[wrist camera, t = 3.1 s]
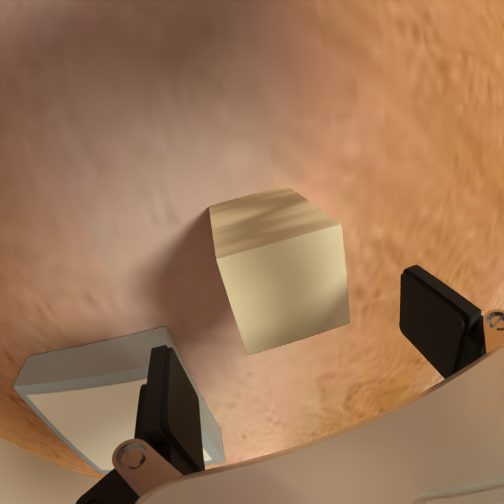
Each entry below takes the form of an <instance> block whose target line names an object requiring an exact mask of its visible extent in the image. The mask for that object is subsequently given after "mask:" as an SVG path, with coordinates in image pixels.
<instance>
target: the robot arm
mask: <svg viewBox="0 0 504 504" xmlns="http://www.w3.org/2000/svg"><path fill="white" fill-rule="evenodd" d="M399 326H400V330H401V332H402V333H403V334H404V336H405V337H406V338H407V339H408V340H409V341H410V342H411V343H412V344H413V345H414V346H415V347H416V348H417V349H418V350H419V351H420V352H421V354H422V355H423V356H424V357H425V358H426V359H427V360H428V361H429V362H430V363H431V364H432V365H433V366H434V368H435V369H436V370H437V371H438V372H439V373H440V374H441V375H442V376H443V377H444V379H445V380H443V381H441V382H440V383H438V384H436V385H434V386H433V387H431V388H429V389H427V390H426V391H424V392H422V393H420V394H418V395H416V396H414V397H412V398H411V399H409V400H407V401H405V402H403V403H401V404H399V405H397V406H395V407H393V408H391V409H389V410H386V411H384V412H382V413H380V414H378V415H376V416H373V417H371V418H369V419H367V420H364V421H362V422H360V423H357V424H355V425H353V426H350V427H348V428H345V429H343V430H340V431H338V432H335V433H332V434H330V435H327V436H324V437H322V438H319V439H316V440H313V441H310V442H307V443H304V444H301V445H298V446H295V447H292V448H289V449H286V450H282V451H279V452H275V453H272V454H268V455H265V456H261V457H257V458H254V459H250V460H246V461H242V462H238V463H234V464H229V465H225V466H220V467H216V468H212V469H208V470H205V465H204V455H203V445H202V433H201V421H200V408H199V399H198V395H197V393H196V391H195V389H194V387H193V386H192V384H191V382H190V380H189V378H188V376H187V374H186V372H185V370H184V368H183V367H182V365H181V363H180V361H179V359H178V357H177V355H176V353H175V351H174V349H173V347H170V348H168V346H167V345H162V346H158V347H154V348H152V349H151V354H150V361H149V368H148V376H147V384H142V385H141V387H140V393H139V400H138V408H137V416H136V425H135V434H134V439H129V440H126V441H124V442H122V443H121V444H120V445H119V446H118V447H117V448H116V449H115V451H114V452H113V456H112V464H113V466H114V469H113V470H111V471H110V472H109V473H108V474H107V475H106V476H105V477H103V478H102V479H101V480H100V481H99V482H98V483H97V484H96V485H94V486H93V487H92V488H91V489H90V490H88V491H87V492H86V493H85V494H84V495H82V496H81V497H80V498H79V499H78V500H77V502H76V504H504V311H503V310H498V309H496V310H491V311H488V312H487V313H486V314H485V315H484V317H483V316H482V315H481V310H480V309H479V308H478V307H476V306H475V305H474V304H472V303H471V302H469V301H468V300H467V299H465V298H464V297H463V296H461V295H460V294H458V293H457V292H456V291H454V290H453V289H451V288H450V287H449V286H447V285H446V284H444V283H443V282H441V281H440V280H439V279H437V278H436V277H434V276H433V275H431V274H430V273H428V272H427V271H425V270H424V269H423V268H421V267H420V266H418V265H414V266H411V267H409V268H406V269H405V270H404V271H403V274H401V293H400V323H399Z"/></svg>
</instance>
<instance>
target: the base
mask: <svg viewBox="0 0 504 504" xmlns="http://www.w3.org/2000/svg"><path fill="white" fill-rule="evenodd" d="M162 345H167V346H168V348H170V347H173V349H174V351H175V353H176V355H177V357H178V359H179V361H180V363H181V365H182V367H183V368H184V370H185V372H186V374H187V376H188V378H189V380H190V382H191V384H192V386H193V387H194V389H195V391H196V393H197V395H198V399H199V408H200V421H201V433H202V445H203V455H204V465H209V464H215V463H221V462H226V461H225V454H224V447H223V440H222V432H221V429H220V427H219V425H218V424H217V422H216V420H215V418H214V417H213V415H212V413H211V412H210V410H209V408H208V406H207V405H206V403H205V401H204V399H203V397H202V396H201V394H200V392H199V390H198V388H197V387H196V385H195V383H194V381H193V379H192V377H191V375H190V374H189V372H188V370H187V368H186V366H185V364H184V362H183V360H182V358H181V356H180V354H179V352H178V350H177V348H176V346H175V344H174V342H173V340H172V338H171V336H170V334H169V332H168V330H167V328H166V326H165V327H161V328H157V329H153V330H149V331H144V332H140V333H136V334H132V335H128V336H123V337H119V338H115V339H110V340H106V341H101V342H97V343H92V344H87V345H83V346H78V347H73V348H68V349H63V350H58V351H53V352H48V353H43V354H38V355H32V356H28V358H27V360H26V362H25V363H24V365H23V367H22V369H21V371H20V373H19V375H18V377H17V379H16V381H15V383H14V385H13V388H14V389H15V390H16V391H17V393H18V394H19V395H20V396H21V397H22V399H23V400H24V401H25V402H26V403H27V404H28V406H29V407H30V408H31V409H32V410H33V411H34V412H35V413H36V415H37V416H38V417H39V418H40V419H41V420H42V421H43V422H44V423H45V424H46V425H47V426H48V427H49V428H50V429H51V430H52V431H53V432H54V433H55V434H56V435H57V436H58V437H59V438H60V439H61V440H62V441H63V442H64V443H65V444H66V445H67V446H68V447H69V448H70V449H71V450H73V451H74V452H75V453H76V454H77V455H78V456H79V457H80V458H82V459H83V460H84V461H85V462H86V463H87V464H89V465H90V466H91V467H92V468H93V469H95V470H96V471H97V472H98V473H100V474H108V473H109V472H110V471H111V470H113V469H114V466H113V464H112V456H113V452H114V451H115V449H116V448H117V447H118V446H119V445H120V444H121V443H122V442H124V441H126V440H129V439H134V434H135V425H136V416H137V408H138V400H139V393H140V387H141V385H142V384H147V376H148V368H149V361H150V354H151V349H152V348H154V347H158V346H162Z"/></svg>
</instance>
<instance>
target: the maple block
mask: <svg viewBox="0 0 504 504" xmlns="http://www.w3.org/2000/svg"><path fill="white" fill-rule="evenodd" d="M209 212H210V220H211V227H212V234H213V241H214V248H215V255H216V261H217V264H218V267H219V270H220V273H221V277H222V280H223V283H224V286H225V289H226V292H227V295H228V299H229V302H230V305H231V308H232V311H233V314H234V317H235V320H236V323H237V326H238V329H239V332H240V335H241V338H242V341H243V344H244V347H245V350H246V353H247V356H248V355H252V354H255V353H259V352H262V351H266V350H269V349H272V348H276V347H279V346H282V345H286V344H289V343H292V342H295V341H298V340H302V339H305V338H308V337H311V336H314V335H317V334H320V333H323V332H326V331H329V330H331V329H334V328H337V327H340V326H343V325H346V324H348V323H350V315H349V300H348V287H347V275H346V264H345V254H344V245H343V236H342V228H341V224H340V223H339V222H338V221H336V220H335V219H333V218H332V217H331V216H329V215H328V214H327V213H325V212H324V211H322V210H321V209H320V208H318V207H317V206H315V205H314V204H313V203H311V202H310V201H308V200H307V199H305V198H304V197H303V196H301V195H300V194H298V193H297V192H295V191H294V190H292V189H291V188H289V187H288V186H283V187H279V188H275V189H272V190H268V191H264V192H260V193H256V194H252V195H248V196H245V197H241V198H237V199H234V200H230V201H226V202H223V203H219V204H216V205H212V206H209Z"/></svg>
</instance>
